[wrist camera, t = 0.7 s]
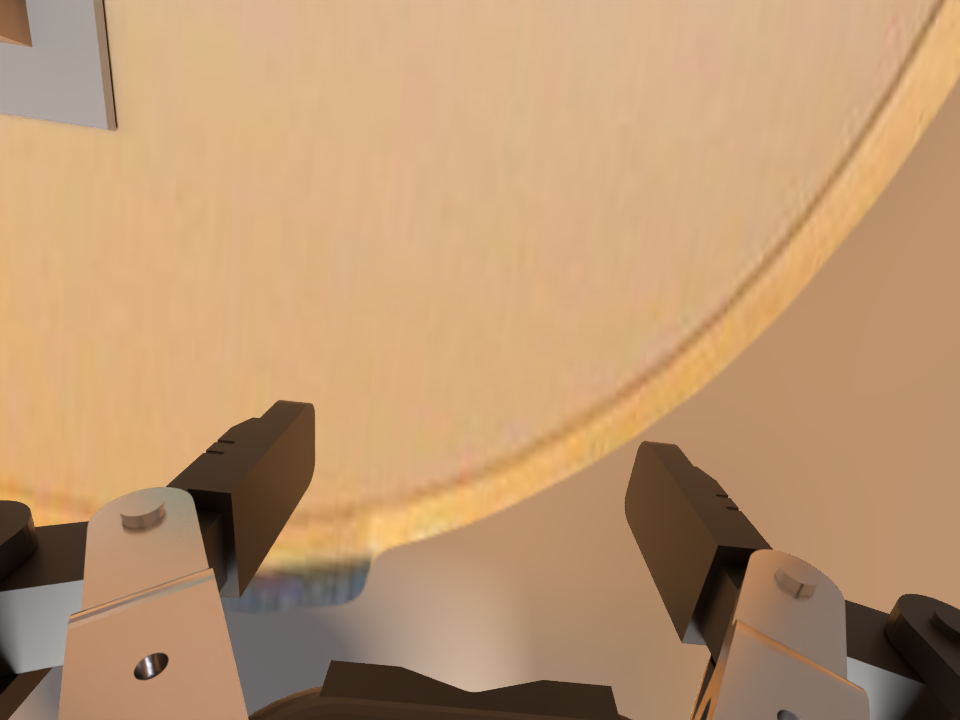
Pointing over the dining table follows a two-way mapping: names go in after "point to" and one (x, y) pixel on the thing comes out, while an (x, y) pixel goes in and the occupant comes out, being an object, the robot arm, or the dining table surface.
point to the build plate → (60, 66)
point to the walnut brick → (14, 23)
